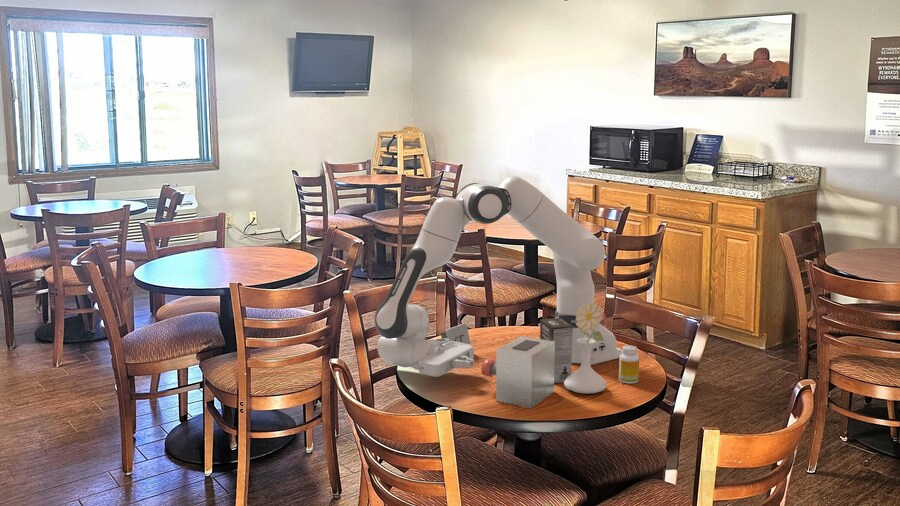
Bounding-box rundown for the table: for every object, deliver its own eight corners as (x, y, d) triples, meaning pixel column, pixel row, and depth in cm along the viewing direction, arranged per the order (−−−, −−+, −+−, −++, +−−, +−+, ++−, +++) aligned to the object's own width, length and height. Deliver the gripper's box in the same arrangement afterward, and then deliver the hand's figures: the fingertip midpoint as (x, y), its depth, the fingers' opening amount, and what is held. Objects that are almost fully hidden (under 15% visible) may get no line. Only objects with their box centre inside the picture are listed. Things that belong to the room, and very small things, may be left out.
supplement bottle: (641, 383, 230) (642, 349, 228) (622, 384, 229) (624, 350, 227) (634, 377, 235) (635, 343, 233) (615, 378, 234) (617, 344, 232)
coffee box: (538, 373, 238) (539, 318, 235) (558, 371, 240) (560, 317, 237) (551, 383, 230) (552, 327, 227) (572, 381, 232) (573, 325, 229)
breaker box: (496, 401, 217) (496, 348, 214) (520, 385, 228) (520, 335, 226) (531, 408, 212) (531, 354, 209) (553, 391, 223) (554, 340, 221)
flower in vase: (556, 385, 228) (558, 296, 223) (592, 380, 232) (595, 293, 227) (580, 402, 216) (582, 308, 211) (618, 396, 220) (621, 304, 215)
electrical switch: (454, 360, 250) (451, 330, 249) (440, 359, 253) (438, 329, 252) (473, 353, 257) (470, 323, 256) (459, 351, 261) (457, 322, 259)
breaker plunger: (481, 377, 224) (481, 361, 223) (489, 372, 227) (489, 357, 226) (516, 384, 218) (516, 368, 217) (524, 379, 222) (524, 363, 221)
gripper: (408, 355, 225) (452, 363, 218) (447, 336, 242) (489, 343, 235) (408, 377, 226) (452, 386, 219) (447, 357, 243) (489, 365, 236)
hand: (472, 364), depth 227 cm, fingers closed
